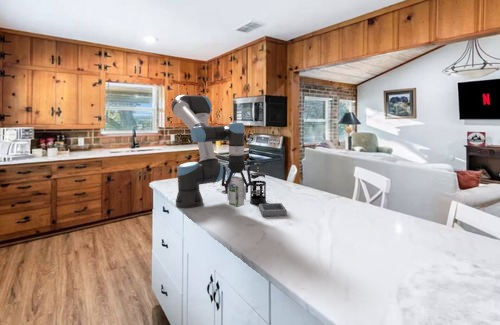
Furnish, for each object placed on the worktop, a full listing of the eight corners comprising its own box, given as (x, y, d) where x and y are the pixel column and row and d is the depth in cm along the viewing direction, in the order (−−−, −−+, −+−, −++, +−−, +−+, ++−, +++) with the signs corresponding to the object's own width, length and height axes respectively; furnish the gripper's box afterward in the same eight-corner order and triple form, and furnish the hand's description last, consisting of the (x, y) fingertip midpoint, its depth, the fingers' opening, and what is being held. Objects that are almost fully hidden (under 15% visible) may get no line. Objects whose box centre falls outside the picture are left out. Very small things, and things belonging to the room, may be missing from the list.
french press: (269, 204, 161) (269, 163, 158) (254, 206, 158) (254, 165, 155) (261, 198, 172) (260, 161, 169) (246, 200, 169) (246, 162, 165)
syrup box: (228, 205, 144) (228, 177, 142) (236, 202, 149) (236, 175, 146) (237, 207, 141) (237, 179, 138) (244, 204, 145) (244, 177, 143)
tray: (262, 216, 140) (262, 211, 140) (259, 209, 152) (259, 203, 152) (286, 215, 142) (286, 210, 141) (281, 208, 153) (281, 203, 153)
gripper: (215, 155, 136) (216, 201, 140) (258, 155, 138) (257, 200, 142) (215, 153, 143) (216, 197, 147) (256, 153, 145) (255, 196, 149)
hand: (236, 199), depth 144 cm, fingers closed on syrup box, 8 cm apart
